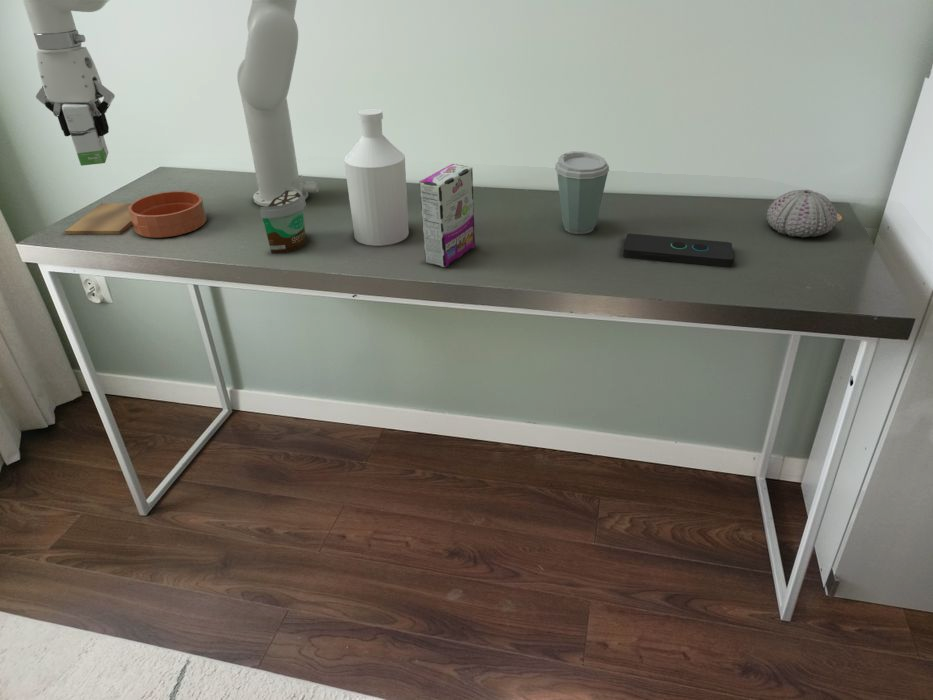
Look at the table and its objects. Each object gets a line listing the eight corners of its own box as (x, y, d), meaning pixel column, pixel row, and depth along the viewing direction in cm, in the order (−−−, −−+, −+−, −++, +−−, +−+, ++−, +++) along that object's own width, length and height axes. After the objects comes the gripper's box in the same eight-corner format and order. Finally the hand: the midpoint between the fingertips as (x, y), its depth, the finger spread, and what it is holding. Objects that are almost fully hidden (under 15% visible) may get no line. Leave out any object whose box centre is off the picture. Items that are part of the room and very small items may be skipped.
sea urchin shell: (760, 236, 141) (768, 198, 137) (767, 212, 151) (775, 176, 147) (832, 246, 136) (843, 207, 132) (834, 222, 146) (844, 185, 142)
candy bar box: (454, 242, 142) (451, 162, 133) (475, 247, 139) (474, 166, 130) (423, 263, 134) (417, 180, 125) (444, 269, 131) (441, 184, 122)
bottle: (379, 251, 139) (366, 123, 125) (341, 235, 145) (325, 113, 132) (421, 233, 146) (414, 110, 132) (383, 219, 153) (373, 100, 139)
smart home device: (733, 259, 128) (623, 249, 133) (732, 267, 129) (622, 257, 134) (732, 241, 135) (627, 232, 140) (730, 249, 136) (626, 240, 141)
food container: (297, 258, 137) (289, 209, 131) (268, 256, 138) (258, 208, 132) (320, 233, 147) (313, 187, 141) (293, 231, 148) (285, 185, 142)
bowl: (216, 212, 158) (211, 191, 155) (191, 238, 146) (185, 216, 143) (152, 212, 159) (146, 191, 156) (122, 238, 146) (115, 216, 144)
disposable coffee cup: (613, 227, 146) (620, 156, 138) (584, 243, 140) (589, 170, 131) (572, 215, 152) (576, 146, 144) (542, 230, 146) (544, 159, 138)
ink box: (105, 163, 145) (88, 105, 139) (79, 166, 144) (60, 107, 137) (109, 152, 152) (92, 95, 146) (84, 154, 151) (66, 98, 144)
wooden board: (152, 206, 162) (151, 203, 161) (120, 234, 148) (119, 230, 148) (102, 206, 163) (101, 203, 162) (66, 234, 149) (64, 230, 149)
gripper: (111, 37, 138) (135, 129, 148) (26, 38, 139) (56, 129, 149) (92, 44, 132) (119, 139, 141) (3, 45, 133) (36, 139, 142)
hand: (86, 133), depth 145 cm, fingers closed on ink box, 6 cm apart
